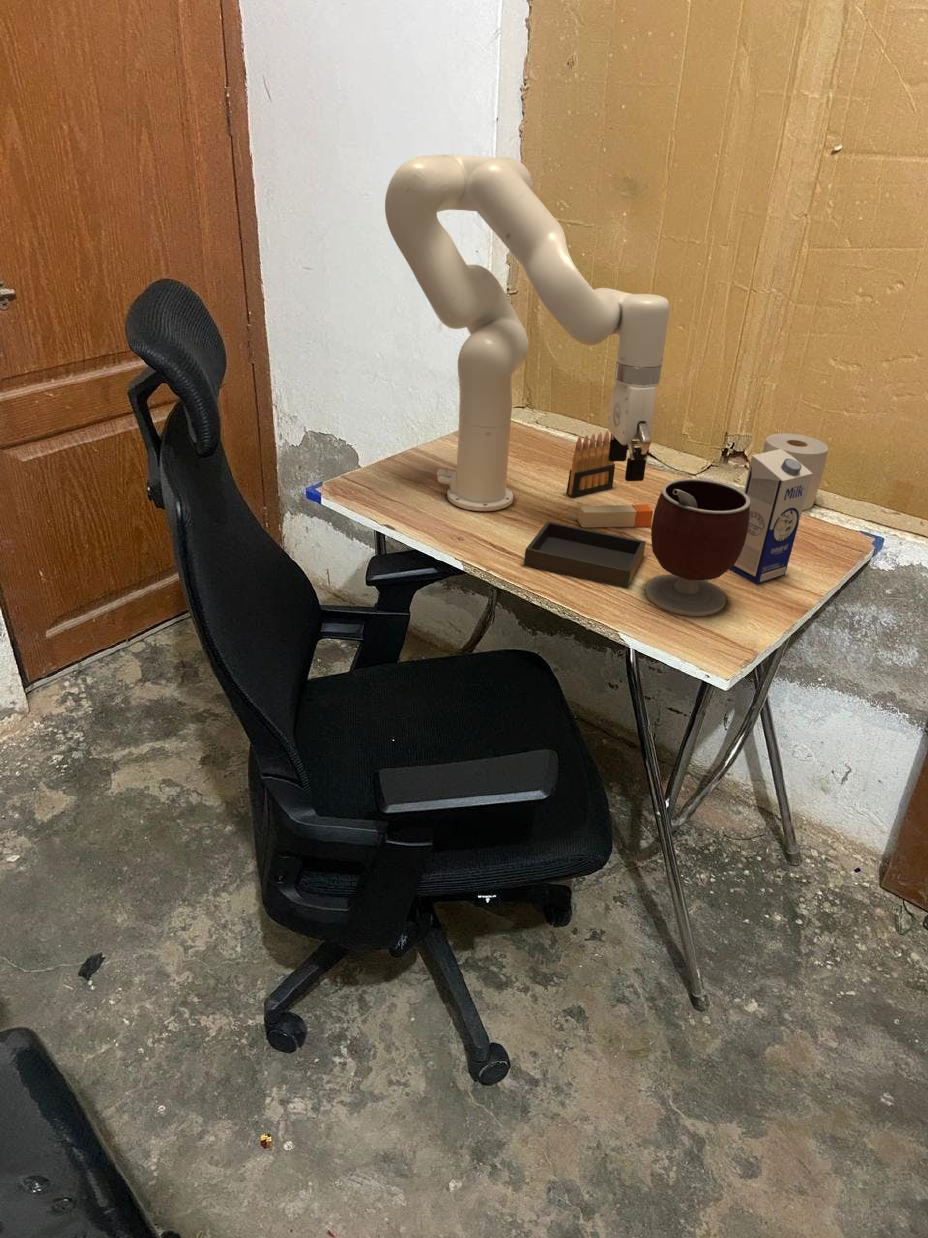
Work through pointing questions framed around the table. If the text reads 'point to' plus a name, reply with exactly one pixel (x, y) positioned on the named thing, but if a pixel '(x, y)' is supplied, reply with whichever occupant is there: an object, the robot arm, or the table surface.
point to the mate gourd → (696, 543)
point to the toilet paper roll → (802, 457)
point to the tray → (585, 554)
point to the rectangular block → (615, 516)
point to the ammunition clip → (591, 467)
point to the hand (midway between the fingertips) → (625, 470)
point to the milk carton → (772, 514)
